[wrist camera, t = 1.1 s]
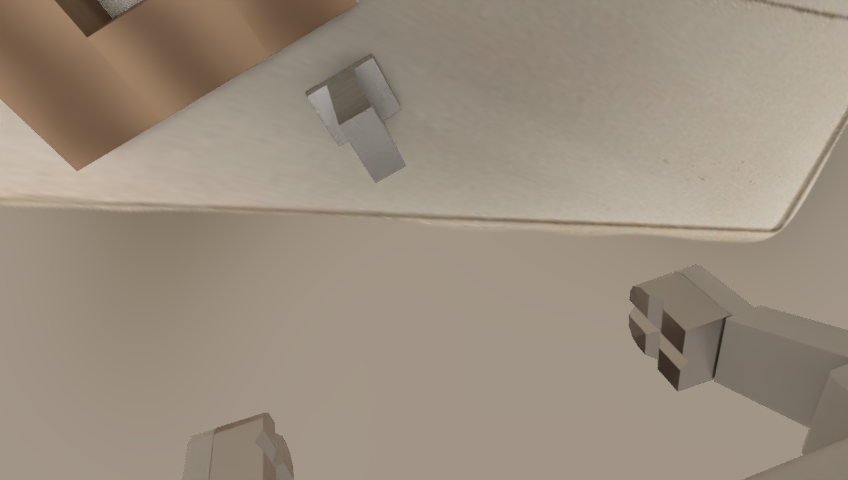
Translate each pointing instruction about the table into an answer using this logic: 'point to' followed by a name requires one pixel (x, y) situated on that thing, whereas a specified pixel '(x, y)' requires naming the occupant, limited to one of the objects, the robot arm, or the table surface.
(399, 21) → the table surface
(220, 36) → the walnut well
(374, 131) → the steel bracket
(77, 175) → the table surface
